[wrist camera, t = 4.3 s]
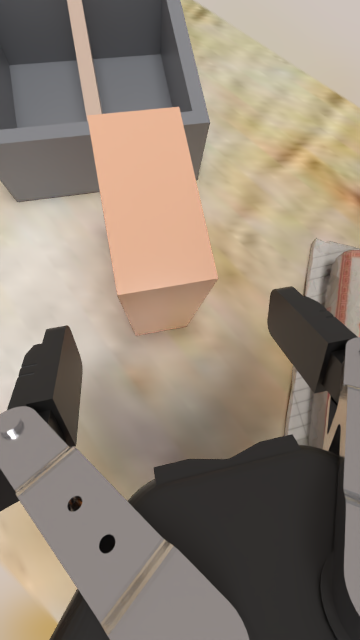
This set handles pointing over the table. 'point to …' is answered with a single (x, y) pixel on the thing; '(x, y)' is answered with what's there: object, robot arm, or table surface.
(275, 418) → the table surface
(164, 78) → the grey open tray
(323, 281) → the packaged product
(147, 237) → the salmon rectangular block
